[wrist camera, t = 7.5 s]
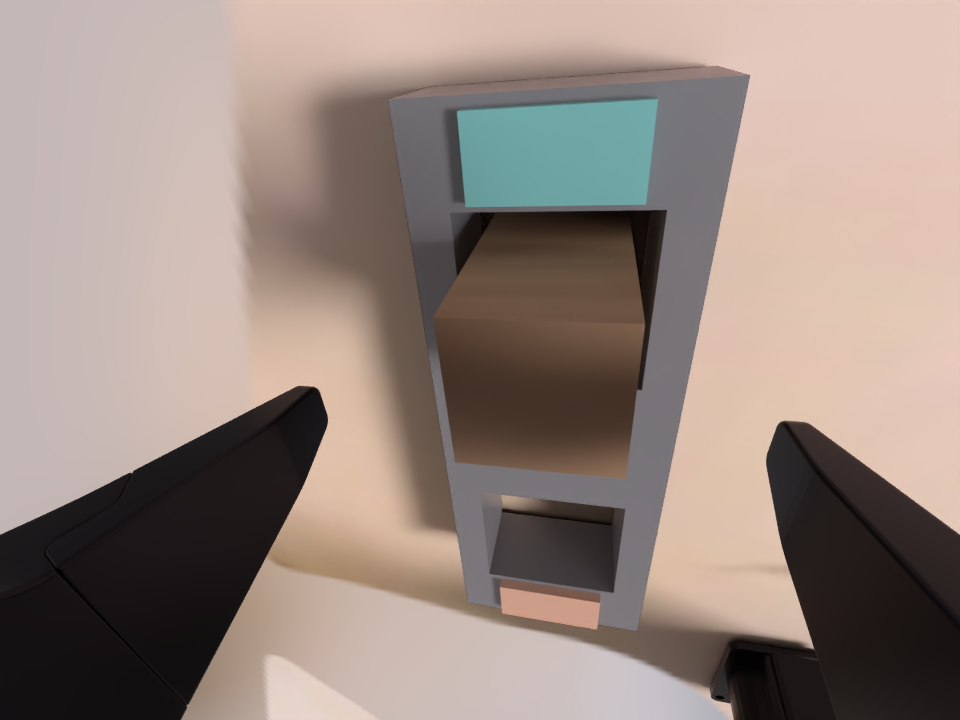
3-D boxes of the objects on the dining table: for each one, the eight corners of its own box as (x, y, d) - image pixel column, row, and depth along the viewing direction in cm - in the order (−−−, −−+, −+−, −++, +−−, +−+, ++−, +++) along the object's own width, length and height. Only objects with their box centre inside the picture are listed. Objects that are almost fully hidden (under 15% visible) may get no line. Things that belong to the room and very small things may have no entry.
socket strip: (633, 562, 25) (637, 640, 22) (482, 541, 26) (466, 610, 23) (717, 66, 13) (755, 76, 10) (430, 86, 14) (381, 101, 11)
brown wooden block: (617, 312, 17) (625, 478, 11) (507, 309, 18) (454, 462, 12) (627, 199, 15) (644, 324, 9) (501, 202, 16) (433, 317, 9)
